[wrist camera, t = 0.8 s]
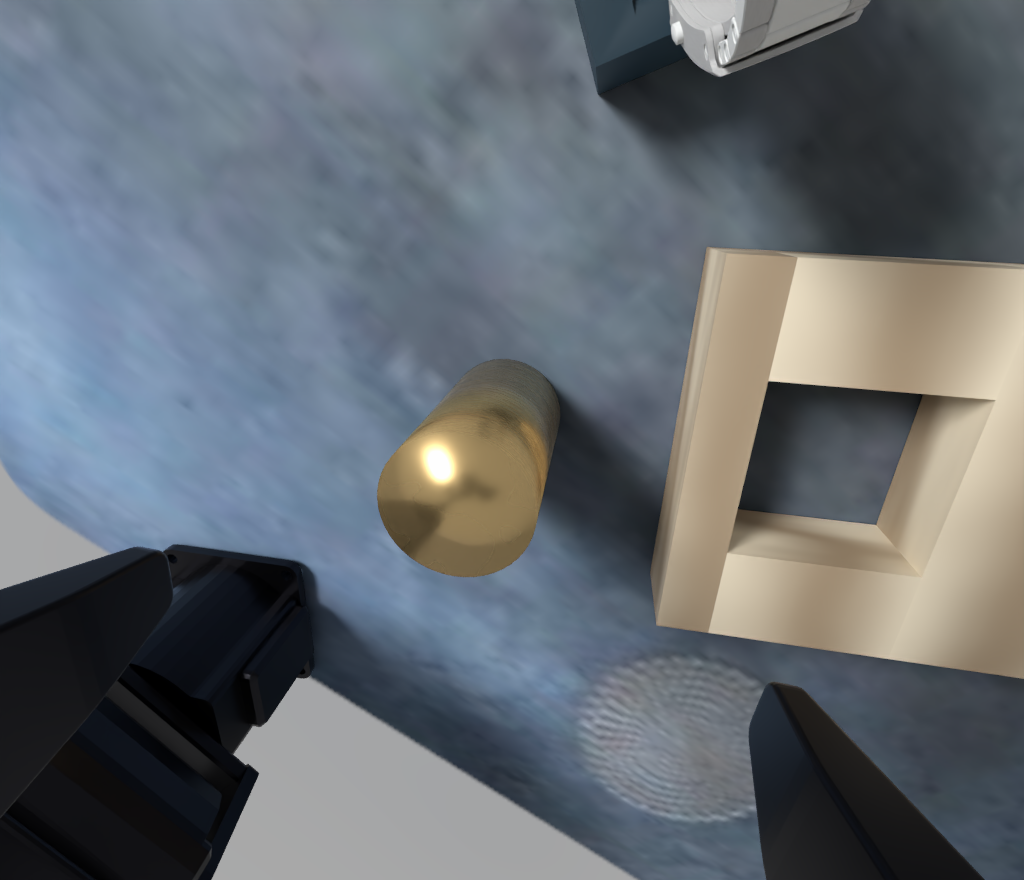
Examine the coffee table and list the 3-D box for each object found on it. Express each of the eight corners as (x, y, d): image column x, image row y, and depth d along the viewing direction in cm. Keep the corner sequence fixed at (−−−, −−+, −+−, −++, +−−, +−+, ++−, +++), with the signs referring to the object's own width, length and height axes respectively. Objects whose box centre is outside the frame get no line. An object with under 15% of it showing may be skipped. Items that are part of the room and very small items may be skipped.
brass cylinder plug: (451, 457, 21) (381, 565, 14) (451, 354, 19) (373, 425, 13) (556, 468, 20) (531, 586, 14) (564, 363, 18) (542, 442, 12)
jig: (650, 572, 21) (656, 625, 18) (706, 246, 16) (726, 253, 14) (988, 616, 19) (1050, 682, 17) (1159, 271, 15) (1285, 284, 12)
